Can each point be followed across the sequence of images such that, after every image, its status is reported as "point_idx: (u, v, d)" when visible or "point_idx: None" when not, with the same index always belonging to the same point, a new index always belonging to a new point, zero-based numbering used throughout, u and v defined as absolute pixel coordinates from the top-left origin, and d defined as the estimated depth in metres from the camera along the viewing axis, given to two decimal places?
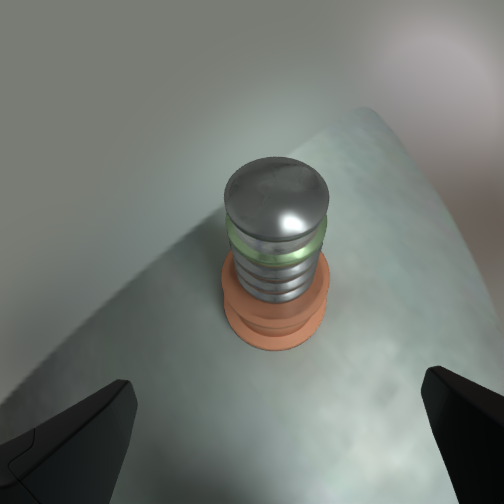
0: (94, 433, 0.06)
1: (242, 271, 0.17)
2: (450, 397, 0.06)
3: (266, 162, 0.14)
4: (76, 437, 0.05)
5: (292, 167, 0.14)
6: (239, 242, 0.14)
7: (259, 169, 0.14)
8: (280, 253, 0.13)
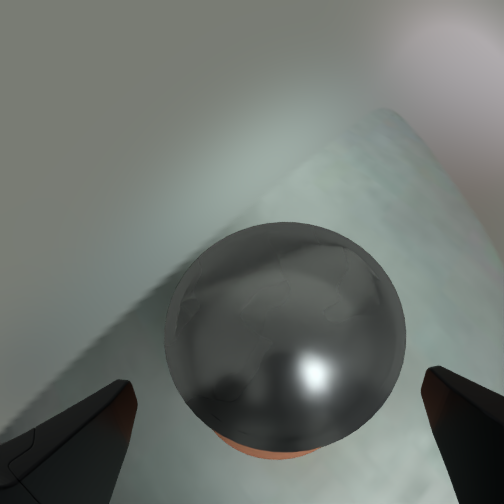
0: (94, 433, 0.06)
1: None
2: (450, 397, 0.06)
3: (264, 237, 0.06)
4: (76, 437, 0.05)
5: (323, 251, 0.06)
6: None
7: (247, 257, 0.06)
8: None
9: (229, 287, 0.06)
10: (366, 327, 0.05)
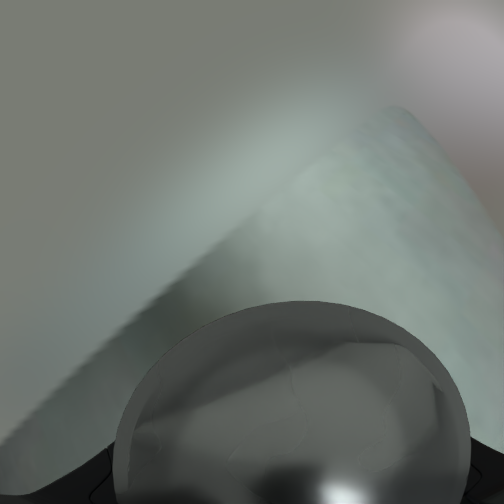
0: None
1: None
2: None
3: (265, 330, 0.04)
4: None
5: (364, 355, 0.03)
6: None
7: (237, 368, 0.03)
8: None
9: (207, 419, 0.03)
10: (419, 471, 0.03)
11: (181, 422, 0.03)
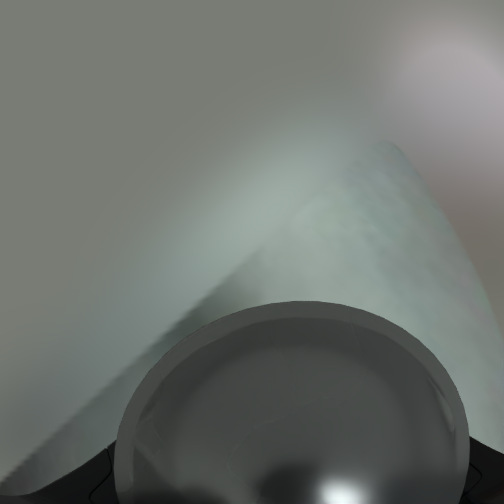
0: None
1: None
2: None
3: (264, 330, 0.04)
4: None
5: (363, 355, 0.03)
6: None
7: (237, 367, 0.03)
8: None
9: (207, 419, 0.03)
10: (418, 470, 0.03)
11: (182, 421, 0.03)
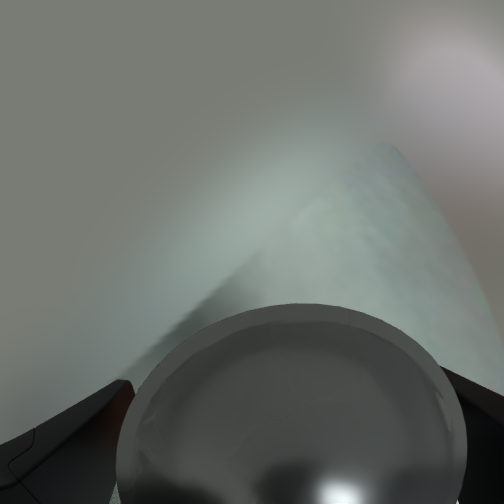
0: (94, 433, 0.06)
1: None
2: None
3: (265, 332, 0.04)
4: (76, 437, 0.05)
5: (361, 357, 0.03)
6: None
7: (237, 369, 0.04)
8: None
9: (208, 419, 0.03)
10: (416, 470, 0.03)
11: (183, 422, 0.03)
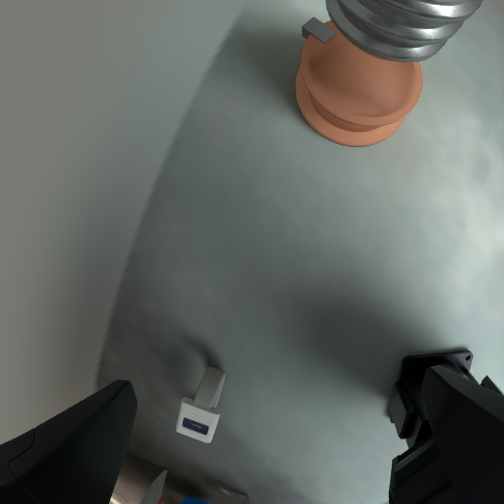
0: (94, 433, 0.06)
1: (370, 16, 0.07)
2: (450, 397, 0.06)
3: None
4: (76, 437, 0.05)
5: None
6: None
7: None
8: None
9: None
10: None
11: None
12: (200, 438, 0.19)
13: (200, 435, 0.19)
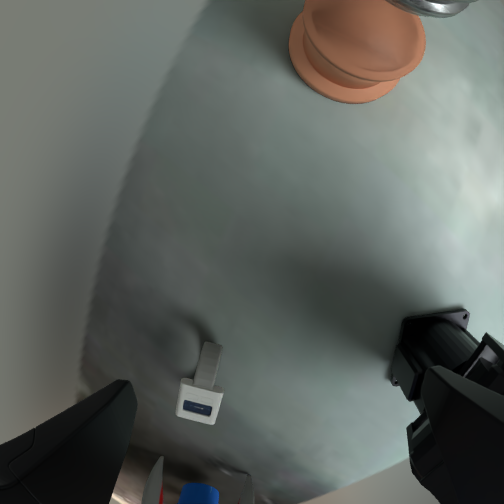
0: (94, 433, 0.06)
1: None
2: (450, 397, 0.06)
3: None
4: (76, 437, 0.05)
5: None
6: None
7: None
8: None
9: None
10: None
11: None
12: (203, 420, 0.19)
13: (203, 417, 0.19)
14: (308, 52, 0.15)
